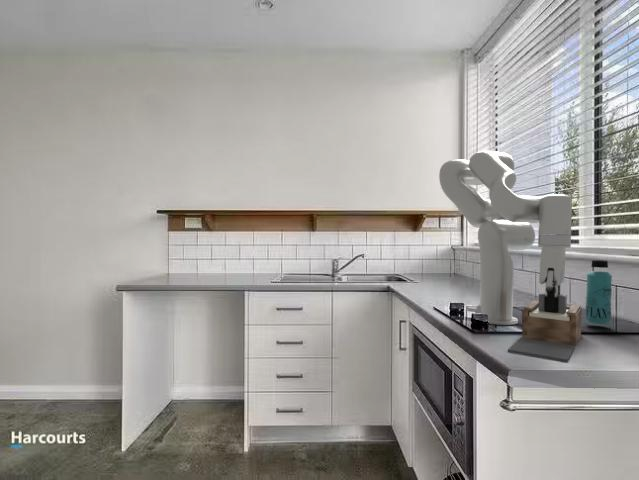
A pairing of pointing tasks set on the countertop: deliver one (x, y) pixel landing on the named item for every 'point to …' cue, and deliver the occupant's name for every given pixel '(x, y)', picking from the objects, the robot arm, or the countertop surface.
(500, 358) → the countertop surface
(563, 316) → the cover plate
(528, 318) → the walnut box
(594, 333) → the countertop surface
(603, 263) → the beverage bottle
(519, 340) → the charcoal mat
